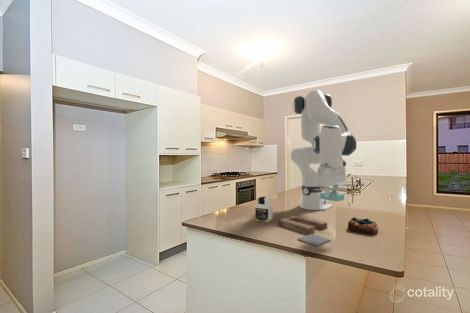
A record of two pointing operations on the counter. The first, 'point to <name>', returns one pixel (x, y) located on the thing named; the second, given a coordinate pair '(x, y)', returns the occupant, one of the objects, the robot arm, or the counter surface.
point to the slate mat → (314, 240)
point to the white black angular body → (263, 209)
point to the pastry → (362, 226)
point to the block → (332, 196)
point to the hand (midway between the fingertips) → (331, 195)
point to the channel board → (302, 224)
